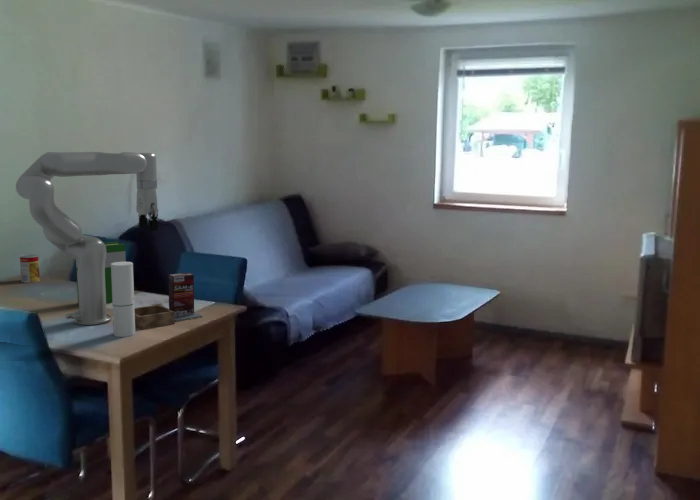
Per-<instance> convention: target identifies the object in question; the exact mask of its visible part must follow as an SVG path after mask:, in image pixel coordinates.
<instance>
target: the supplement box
mask: <svg viewBox="0 0 700 500" xmlns="http://www.w3.org/2000/svg"><path fill="white" fill-rule="evenodd" d="M194 279H195V274H193V273H192V272H186V273H185V272H184V273H183V272H182V273H174V274H168V309H170V310H172V311H174V316H175V317H179V316H186V315H194V312H195V280H194Z"/></svg>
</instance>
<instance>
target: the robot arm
mask: <svg viewBox="0 0 700 500" xmlns="http://www.w3.org/2000/svg"><path fill="white" fill-rule="evenodd" d="M157 170H158V169H157V156H156V154H155V153H154V152H126V151H125V152H120V153H116V152H115V153H114V152H113V153H112V152H102V151H101V152H100V151H74V152H73V151H70V152H69V151H67V152H66V151H65V152H61V151H59V152H57V151H48V152H45V153H44V154H42V155H40V156H39V157H38V158H37V159H36V160H35V161H34V162H33V163H32V164H31V165H30V166H29V167H28V168H27V169H26V170H25V171H24V172H23V173H21V175H20V176H18V179H17V180H16V183H15V191H16V192H17V193H16V194H18V195H19V197H21V198H23V199H25V200H28V201H29V202H28V204H29V211H30V215H31V217H32V218H33V220H34V221H35V222H36V223H37V224H38V225H39V226H40V227H42V233H43V235H44V238H45V239H46V240H47V241H48V242H50V244H52V245H53V246H54V247H56V248H57V249H59V250H60V251H61V252H63V254H65V255H67V256H68V257H69V258H72V259H74V260H76V259H77V260H80V261H79V266H78V272H76V280H77V279H78V291H77V297H78V296H79V304H78V308H77V309H76V311H74V312H69V313H68V312H67V313H65V319H67V320H68V319H71V320H74V321H75V323H76V324H78V325H80V326H81V325H84V326H94V325H101V324H107V323H109V322H110V321H111V320H112V316H111V315H110V314H108V313H107V311H108V310H107V304H106V287H105V260H106V246H105V244H104V243H105V242H104V241H102V240H101V239H100V238H98V237H96V236H93V235H86V234H83V230H82V227H81V226H80V224H78V223H77V221H75V220H74V219H72V218H71V217H70V216H68V215H67V214H66V213H65V212H64V211H62V210H61V209H60V208H59V207H58V206H57V205H56V203H55V199H54V197H55V187H54V184H53V183H52V181H51V180H52V179H53V178H55V177H59V178H60V177H61V178H62V177H63V178H66V177H69V178H70V177H83V176H84V177H86V176H87V177H90V176H91V177H92V176H108V175H110V176H111V175H132V174H136V207H135V208H136V209H135V210H136V213H137V214H138V228H140V229H143V228H145V229H146V228H148V230H149V231H150V232H151V231H152V232H153V231H158V226H159V225H158V221H159V220H158V219H159V217H158V216H159V214H158V213H159V209H158V196H157V194H158V193H157V189H158V180H157V179H158V177H157V175H158V173H157ZM147 216H148V217H147ZM148 219H149V220H148Z"/></svg>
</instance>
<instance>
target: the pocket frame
mask: <svg viewBox="0 0 700 500" xmlns="http://www.w3.org/2000/svg"><path fill="white" fill-rule="evenodd" d="M134 309H135V329H138V330H144V329H151V328H156V327H162V326H167V325H174V324H176V323H175V316H174V311H172V310H170V309H169V307H168V308H167V307H166V306H163V305H161V304H155V305H154V304H152V305H147V306H140V307H134Z"/></svg>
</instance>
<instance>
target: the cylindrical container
mask: <svg viewBox="0 0 700 500" xmlns="http://www.w3.org/2000/svg"><path fill="white" fill-rule="evenodd" d="M111 278H112V302H113V303H112V317H113V319H112V321H113V336H114V337H119V338H121V337H122V338H125V337H132V336H134V335H135V334H136V327H135V309H134V308H135V290H134V289H135V286H134V284H135V283H134V282H135V281H134V263H133V262H132V261H126V262H114V263H111Z"/></svg>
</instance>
